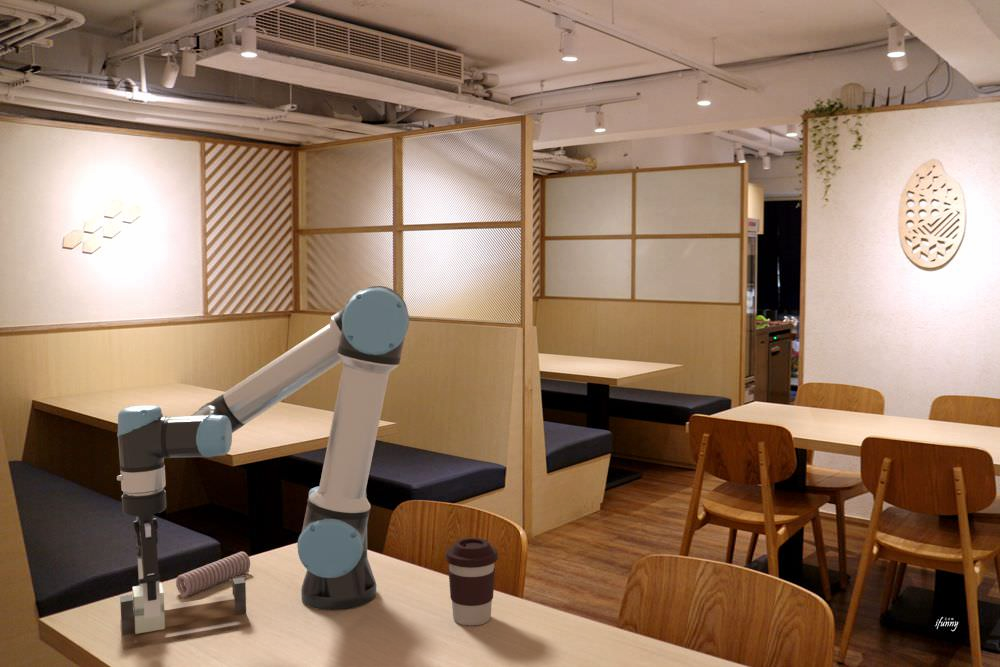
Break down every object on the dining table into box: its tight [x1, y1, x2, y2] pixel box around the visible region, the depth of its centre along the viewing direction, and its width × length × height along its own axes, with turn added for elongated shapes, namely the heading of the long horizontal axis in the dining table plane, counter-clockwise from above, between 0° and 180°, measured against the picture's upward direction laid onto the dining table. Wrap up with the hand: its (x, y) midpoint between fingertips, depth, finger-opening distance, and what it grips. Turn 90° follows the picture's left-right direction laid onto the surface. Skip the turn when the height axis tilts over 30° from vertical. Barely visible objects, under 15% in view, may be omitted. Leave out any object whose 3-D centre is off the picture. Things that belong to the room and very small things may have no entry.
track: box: [119, 576, 251, 650], centre depth 163 cm, size 22×12×7 cm, turn 116°
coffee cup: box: [445, 537, 499, 627], centre depth 166 cm, size 10×10×15 cm
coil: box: [175, 551, 251, 599], centre depth 184 cm, size 5×5×18 cm
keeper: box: [132, 581, 165, 634], centre depth 160 cm, size 5×6×7 cm
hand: (149, 603), depth 160 cm, fingers open, 13 cm apart
